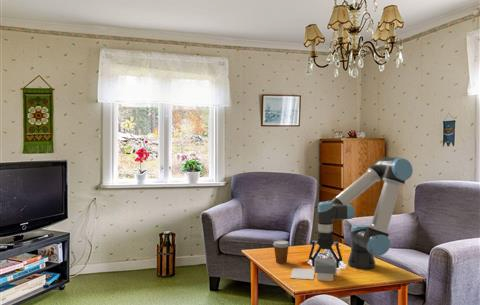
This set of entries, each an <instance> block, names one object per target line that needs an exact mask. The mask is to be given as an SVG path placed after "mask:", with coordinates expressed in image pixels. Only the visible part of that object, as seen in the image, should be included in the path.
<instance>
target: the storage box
mask: <svg viewBox="0 0 480 305" xmlns="http://www.w3.org/2000/svg"><path fill="white" fill-rule="evenodd" d="M316 280H317V281H327V282H328V281H329V282H334V274H326V273H316Z"/></svg>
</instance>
